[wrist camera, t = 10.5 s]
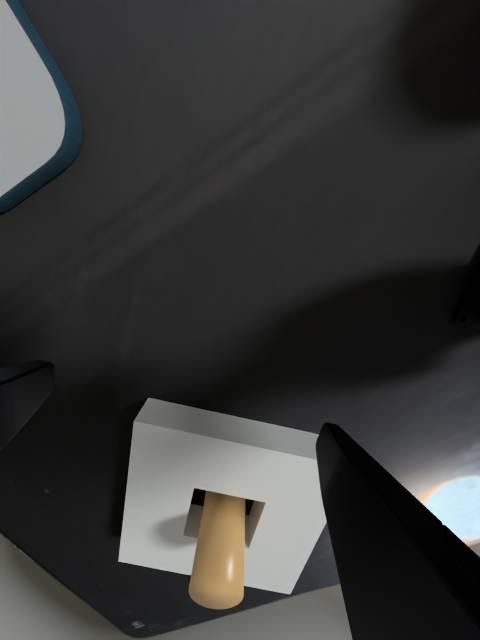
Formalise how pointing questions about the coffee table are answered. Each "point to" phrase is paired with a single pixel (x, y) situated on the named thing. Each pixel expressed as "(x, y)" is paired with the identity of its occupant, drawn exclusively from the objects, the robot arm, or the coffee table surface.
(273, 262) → the coffee table surface
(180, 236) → the coffee table surface
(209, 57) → the coffee table surface
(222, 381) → the coffee table surface
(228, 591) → the tan peg
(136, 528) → the grey board with hole
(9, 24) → the external hard drive
